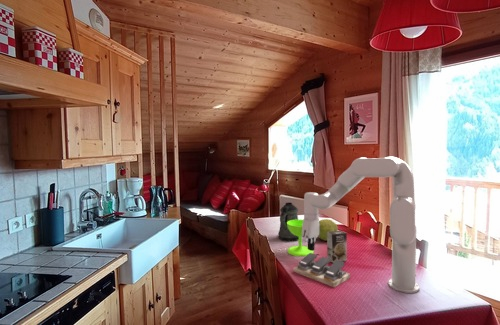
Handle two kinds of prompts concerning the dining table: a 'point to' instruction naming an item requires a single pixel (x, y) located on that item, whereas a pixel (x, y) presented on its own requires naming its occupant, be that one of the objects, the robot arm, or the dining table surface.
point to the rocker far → (307, 259)
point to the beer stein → (286, 215)
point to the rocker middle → (320, 264)
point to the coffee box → (337, 246)
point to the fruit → (326, 228)
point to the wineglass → (296, 229)
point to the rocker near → (334, 268)
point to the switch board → (322, 274)
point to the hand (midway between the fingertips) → (311, 249)
